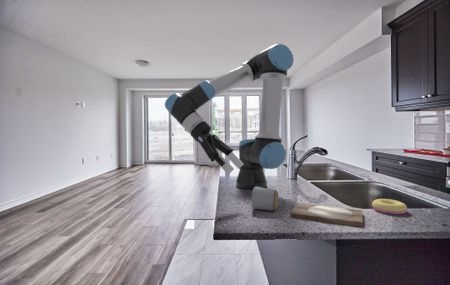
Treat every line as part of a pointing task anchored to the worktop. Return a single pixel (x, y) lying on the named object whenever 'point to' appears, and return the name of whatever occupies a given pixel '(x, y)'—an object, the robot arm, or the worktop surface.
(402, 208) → the donut
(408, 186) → the worktop surface
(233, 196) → the worktop surface
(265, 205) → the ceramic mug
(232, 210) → the worktop surface
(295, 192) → the worktop surface
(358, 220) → the walnut board
